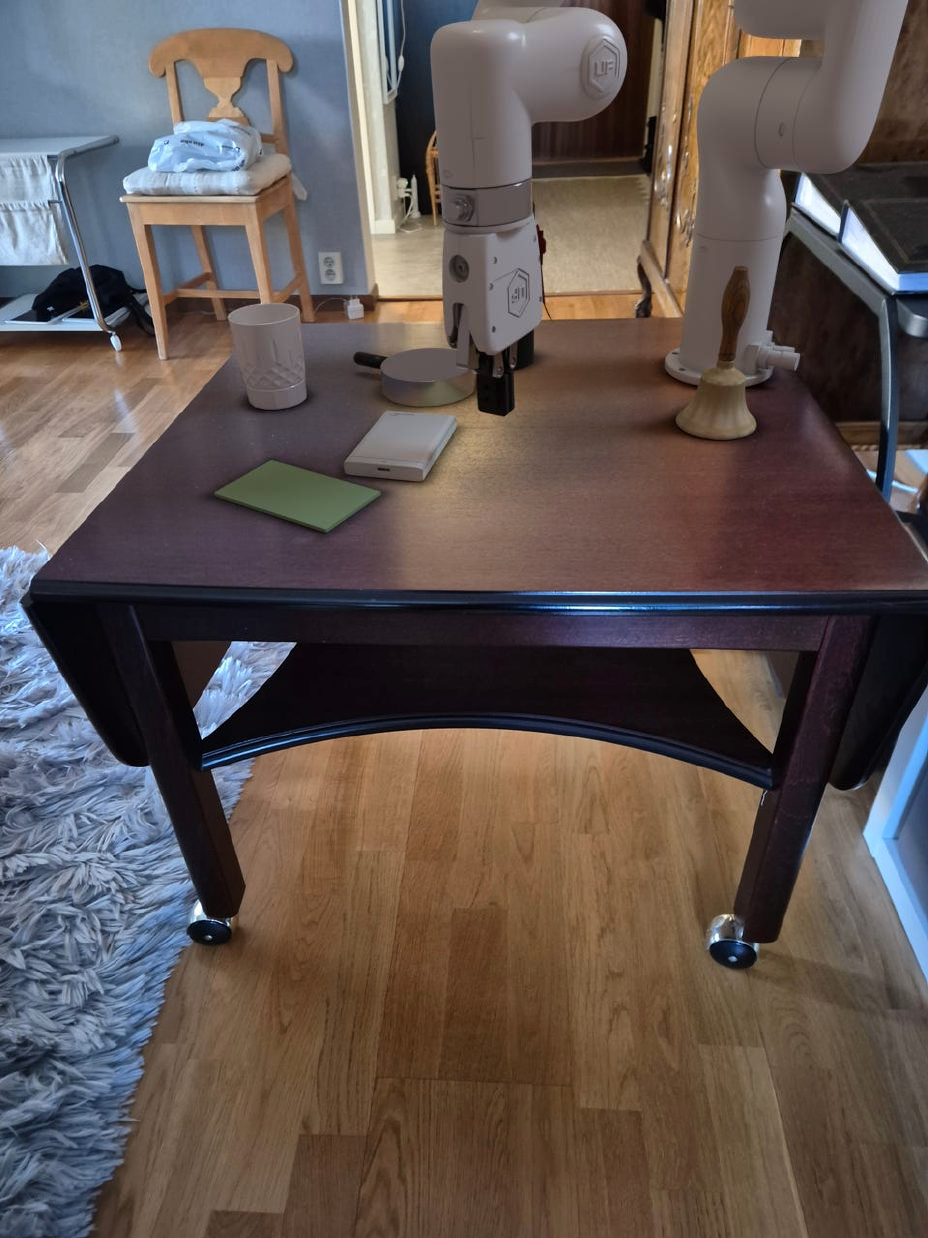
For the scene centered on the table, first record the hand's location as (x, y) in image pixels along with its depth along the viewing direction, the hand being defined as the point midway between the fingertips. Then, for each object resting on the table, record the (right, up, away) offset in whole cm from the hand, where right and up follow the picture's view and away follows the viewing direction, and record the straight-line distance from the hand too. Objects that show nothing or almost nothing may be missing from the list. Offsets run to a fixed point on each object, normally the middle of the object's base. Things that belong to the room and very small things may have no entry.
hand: (496, 410), depth 81 cm
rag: (-19, -8, -1) cm, 21 cm away
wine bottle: (+3, +13, +27) cm, 30 cm away
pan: (-10, +8, +21) cm, 24 cm away
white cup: (-25, +6, +19) cm, 32 cm away
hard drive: (-9, -3, +7) cm, 12 cm away
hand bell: (+24, +1, +9) cm, 25 cm away
